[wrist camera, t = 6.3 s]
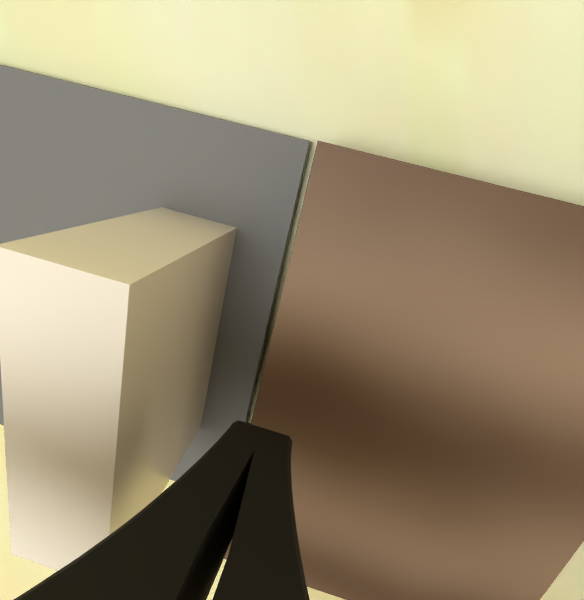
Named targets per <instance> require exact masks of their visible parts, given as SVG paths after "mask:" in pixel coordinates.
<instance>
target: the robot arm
mask: <svg viewBox="0 0 584 600" xmlns="http://www.w3.org/2000/svg"><path fill="white" fill-rule="evenodd" d="M292 442H293V441H292V440H291V438H290V436H288V435H285V434H281V433H278V432H275V431H272V430H268V429H265V428H262V427H259V426H255V425H252V424H249V423H246V422H243V421H239V420H238V421H236V422H234V423H232V425H231V426H230V427H229V428H228V430H227V431H226V432H225V433H224V434H223V435H222V436H221V438H220V439H219V440H218V441H217V442H216V443H215V444H214V445H213V446H212V447H211V448H210V449H209V450H208V451H207V452H206V453H205V454H204V455H203V456H202V457H201V458H200V459H199V460H198V461H197V462H196V463H195V464H194V465H193V466H192V467H191V468H189V469H188V470H187V471H186V472H185V473H184V474H183V475H182V476H181V477H180V478H179V479H178V480H177V481H175V482H174V483H173V484H172V485H171V486H170V487H169V488H167V489H166V490H165V491H164V492H163V493H161V494H160V495H159V496H158V497H157V498H155V499H154V500H153V501H152V502H151V503H149V504H148V505H147V506H146V507H145V508H143V509H142V510H141V511H140V512H139V513H137V514H136V515H135V516H134V517H132V518H131V519H130V520H128V521H127V522H126V523H125V524H123V525H122V526H121V527H119V528H118V529H117V530H115V531H114V532H113V533H111V534H110V535H109V536H107V537H106V538H105V539H103V540H102V541H100V542H99V543H98V544H96V545H95V546H93V547H92V548H91V549H89V550H88V551H87V552H85V553H84V554H82V555H81V556H79V557H78V558H77V559H75V560H74V561H72V562H71V563H69V564H68V565H66V566H65V567H63V568H62V569H60V570H59V571H57V572H56V573H54V574H53V575H51V576H50V577H48V578H47V579H45V580H44V581H42V582H41V583H39V584H38V585H36V586H35V587H33V588H31V589H30V590H28V591H27V592H25V593H24V594H22V595H20V596H19V597H17V598H16V599H14V600H206V599H207V596H208V594H209V592H210V589H211V587H212V585H213V582H214V580H215V578H216V575H217V573H218V571H219V568H220V566H221V564H222V561H223V559H224V557H225V554H226V552H227V550H228V547H229V545H230V542H231V546H230V550H229V554H228V557H227V560H226V563H225V566H224V569H223V572H222V574H221V577H220V580H219V583H218V586H217V589H216V591H215V594H214V597H213V600H309V595H308V591H307V586H306V581H305V576H304V570H303V565H302V560H301V554H300V548H299V542H298V536H297V529H296V521H295V513H294V504H293V495H292V480H291V449H292ZM231 540H232V541H231Z"/></svg>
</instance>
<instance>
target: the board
mask: <svg viewBox="0 0 584 600" xmlns="http://www.w3.org/2000/svg"><path fill="white" fill-rule="evenodd" d="M251 424H252V425H255V426H259V427H262V428H265V429H268V430H272V431H275V432H278V433H281V434H285V435H288V436H290V438H291V440H292V441H293V442H292V449H291V480H292V495H293V504H294V513H295V521H296V529H297V536H298V542H299V548H300V554H301V560H302V565H303V570H304V576H305V581H306V586H307V587H310V588H313V589H316V590H319V591H322V592H325V593H328V594H331V595H334V596H337V597H340V598H343V599H346V600H540V599H541V597H542V596H543V595H544V593H545V592H546V591H547V589H548V588H549V587H550V585H551V584H552V583H553V581H554V580H555V579H556V577H557V576H558V575H559V573H560V572H561V571H562V569H563V568H564V567H565V565H566V564H567V563H568V561H569V560H570V559H571V557H572V556H573V554H574V553H575V552H576V550H577V549H578V548H579V546H580V545H581V544H582V542H583V541H584V206H580V205H576V204H572V203H568V202H564V201H560V200H556V199H552V198H548V197H544V196H540V195H536V194H531V193H527V192H523V191H519V190H515V189H511V188H507V187H503V186H499V185H495V184H491V183H487V182H483V181H479V180H475V179H471V178H467V177H463V176H459V175H454V174H450V173H446V172H442V171H438V170H434V169H430V168H426V167H422V166H418V165H414V164H410V163H406V162H402V161H398V160H394V159H390V158H386V157H382V156H377V155H373V154H369V153H365V152H361V151H357V150H353V149H349V148H345V147H341V146H337V145H333V144H329V143H325V142H321V141H318V142H317V146H316V151H315V155H314V159H313V163H312V167H311V172H310V176H309V180H308V184H307V189H306V193H305V197H304V201H303V206H302V210H301V214H300V218H299V222H298V227H297V231H296V235H295V239H294V244H293V248H292V252H291V256H290V260H289V265H288V269H287V273H286V277H285V282H284V286H283V290H282V294H281V299H280V303H279V307H278V311H277V315H276V320H275V324H274V328H273V332H272V337H271V341H270V345H269V349H268V353H267V358H266V362H265V366H264V370H263V375H262V379H261V383H260V387H259V392H258V396H257V400H256V404H255V408H254V413H253V417H252V421H251ZM231 541H232V540H231ZM230 546H231V542H230V545H229V547H228V550H227V552H226V554H225V557H224V559H227V557H228V554H229V550H230Z"/></svg>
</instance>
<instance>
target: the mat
mask: <svg viewBox="0 0 584 600" xmlns="http://www.w3.org/2000/svg"><path fill="white" fill-rule="evenodd" d="M311 143H312V142H310V141H307V140H303V139H299V138H295V137H291V136H287V135H283V134H279V133H275V132H271V131H267V130H263V129H259V128H255V127H250V126H246V125H242V124H238V123H234V122H230V121H226V120H222V119H218V118H214V117H210V116H206V115H202V114H198V113H194V112H190V111H186V110H182V109H178V108H174V107H170V106H166V105H161V104H157V103H153V102H149V101H145V100H141V99H137V98H133V97H129V96H125V95H121V94H117V93H113V92H109V91H105V90H101V89H97V88H93V87H89V86H85V85H81V84H77V83H73V82H68V81H64V80H60V79H56V78H52V77H48V76H44V75H40V74H36V73H32V72H28V71H24V70H20V69H16V68H12V67H8V66H4V65H0V244H2V243H6V242H11V241H15V240H19V239H24V238H28V237H33V236H37V235H42V234H46V233H50V232H55V231H59V230H64V229H68V228H72V227H77V226H81V225H86V224H90V223H95V222H99V221H103V220H108V219H112V218H117V217H121V216H125V215H130V214H134V213H139V212H143V211H148V210H152V209H156V208H161V207H163V208H166V209H170V210H174V211H177V212H181V213H185V214H188V215H192V216H196V217H199V218H203V219H207V220H210V221H214V222H218V223H221V224H225V225H229V226H232V227H236V228H237V230H236V235H235V241H234V246H233V252H232V257H231V263H230V268H229V274H228V279H227V285H226V290H225V296H224V301H223V307H222V312H221V318H220V323H219V329H218V334H217V340H216V345H215V351H214V356H213V362H212V367H211V373H210V378H209V384H208V389H207V395H206V400H205V406H204V411H203V417H202V422H201V428H200V430H199V431H198V433H197V435H196V436H195V438H194V440H193V441H192V443H191V445H190V446H189V448H188V450H187V451H186V453H185V455H184V456H183V458H182V460H181V461H180V463H179V465H178V466H177V468H176V470H175V471H174V473H173V475H172V476H171V478H170V479H171V480H174V481H177V480H178V479H179V478H180V477H181V476H182V475H183V474H184V473H185V472H186V471H187V470H188V469H189V468H191V467H192V466H193V465H194V464H195V463H196V462H197V461H198V460H199V459H200V458H201V457H202V456H203V455H204V454H205V453H206V452H207V451H208V450H209V449H210V448H211V447H212V446H213V445H214V444H215V443H216V442H217V441H218V440H219V439H220V438H221V436H222V435H223V434H224V433H225V432H226V431H227V430H228V428H229V427H230V426H231V425H232V423H234V422H236V421H238V420H239V421H243V422H246V423H247V420H248V416H249V411H250V407H251V403H252V398H253V394H254V390H255V385H256V381H257V377H258V372H259V368H260V364H261V359H262V355H263V351H264V346H265V342H266V338H267V333H268V329H269V325H270V320H271V316H272V312H273V307H274V303H275V299H276V294H277V290H278V286H279V281H280V277H281V273H282V269H283V264H284V260H285V256H286V251H287V247H288V243H289V238H290V234H291V230H292V225H293V221H294V217H295V212H296V208H297V204H298V199H299V195H300V191H301V186H302V182H303V178H304V173H305V169H306V165H307V160H308V156H309V152H310V147H311ZM0 424H1V425H4V417H3V399H2V382H1V364H0Z"/></svg>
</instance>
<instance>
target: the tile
mask: <svg viewBox="0 0 584 600" xmlns="http://www.w3.org/2000/svg"><path fill="white" fill-rule="evenodd" d="M236 230H237V228H236V227H232V226H229V225H225V224H221V223H218V222H214V221H210V220H207V219H203V218H199V217H196V216H192V215H188V214H185V213H181V212H177V211H174V210H170V209H166V208H163V207H161V208H156V209H152V210H148V211H143V212H139V213H134V214H130V215H125V216H121V217H117V218H112V219H108V220H103V221H99V222H95V223H90V224H86V225H81V226H77V227H72V228H68V229H64V230H59V231H55V232H50V233H46V234H42V235H37V236H33V237H28V238H24V239H19V240H15V241H11V242H6V243H2V244H0V364H1V382H2V399H3V417H4V434H5V451H6V469H7V486H8V504H9V521H10V538H11V554H12V555H15V556H18V557H20V558H23V559H26V560H29V561H32V562H35V563H37V564H40V565H43V566H46V567H49V568H52V569H54V570H57V571H59V570H60V569H62V568H63V567H65V566H66V565H68V564H69V563H71V562H72V561H74V560H75V559H77V558H78V557H79V556H81V555H82V554H84V553H85V552H87V551H88V550H89V549H91V548H92V547H93V546H95V545H96V544H98V543H99V542H100V541H102V540H103V539H105V538H106V537H107V536H109V535H110V534H111V533H113V532H114V531H115V530H117V529H118V528H119V527H121V526H122V525H123V524H125V523H126V522H127V521H128V520H130V519H131V518H132V517H134V516H135V515H136V514H137V513H139V512H140V511H141V510H142V509H143V508H145V507H146V506H147V505H148V504H149V503H151V502H152V501H153V500H154V499H155V498H157V497H158V496H159V495H160V494H161V493H162V491H163V490H164V488H165V486H166V485H167V483H168V481H169V480H170V478H171V476H172V475H173V473H174V471H175V470H176V468H177V466H178V465H179V463H180V461H181V460H182V458H183V456H184V455H185V453H186V451H187V450H188V448H189V446H190V445H191V443H192V441H193V440H194V438H195V436H196V435H197V433H198V431H199V430H200V428H201V422H202V417H203V411H204V406H205V400H206V395H207V389H208V384H209V378H210V373H211V367H212V362H213V356H214V351H215V345H216V340H217V334H218V329H219V323H220V318H221V312H222V307H223V301H224V296H225V290H226V285H227V279H228V274H229V268H230V263H231V257H232V252H233V246H234V241H235V235H236Z"/></svg>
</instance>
